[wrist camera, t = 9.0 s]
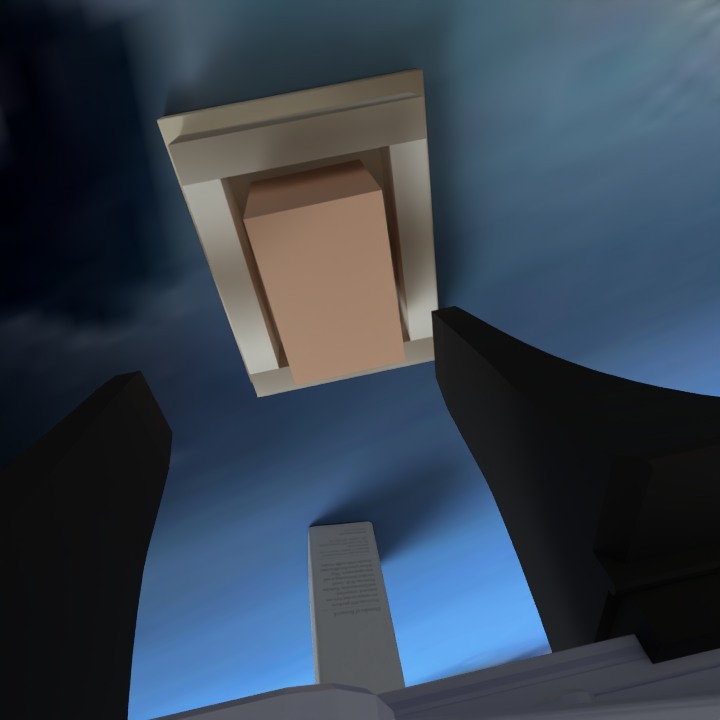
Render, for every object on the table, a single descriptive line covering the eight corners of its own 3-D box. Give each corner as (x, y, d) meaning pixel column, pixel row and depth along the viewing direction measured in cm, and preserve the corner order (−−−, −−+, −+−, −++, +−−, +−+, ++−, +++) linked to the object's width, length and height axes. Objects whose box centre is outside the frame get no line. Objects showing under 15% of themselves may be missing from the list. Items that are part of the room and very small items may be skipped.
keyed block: (359, 159, 17) (381, 190, 13) (382, 303, 20) (405, 360, 17) (250, 182, 17) (243, 219, 13) (292, 323, 20) (295, 385, 17)
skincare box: (368, 573, 33) (405, 795, 23) (307, 579, 33) (320, 810, 23) (374, 517, 30) (420, 748, 20) (307, 523, 29) (321, 764, 19)
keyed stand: (434, 331, 23) (453, 366, 20) (252, 370, 22) (248, 409, 20) (415, 68, 17) (439, 72, 14) (162, 116, 16) (142, 128, 14)
